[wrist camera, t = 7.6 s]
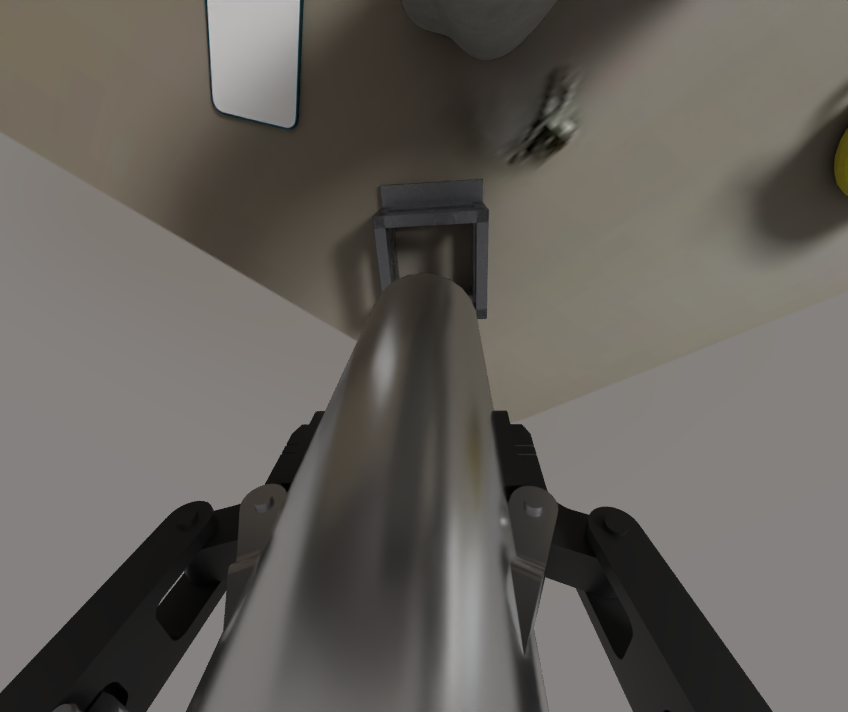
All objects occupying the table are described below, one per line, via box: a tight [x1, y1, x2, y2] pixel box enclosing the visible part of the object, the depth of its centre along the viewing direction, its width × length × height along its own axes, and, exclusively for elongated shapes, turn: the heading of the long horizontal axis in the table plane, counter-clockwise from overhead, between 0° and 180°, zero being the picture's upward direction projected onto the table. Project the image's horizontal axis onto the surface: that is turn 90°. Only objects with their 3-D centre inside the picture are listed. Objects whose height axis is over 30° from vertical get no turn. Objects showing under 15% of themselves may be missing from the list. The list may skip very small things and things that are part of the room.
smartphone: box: [206, 0, 304, 129], centre depth 31 cm, size 8×1×16 cm
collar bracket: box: [373, 179, 489, 319], centre depth 37 cm, size 14×10×6 cm
